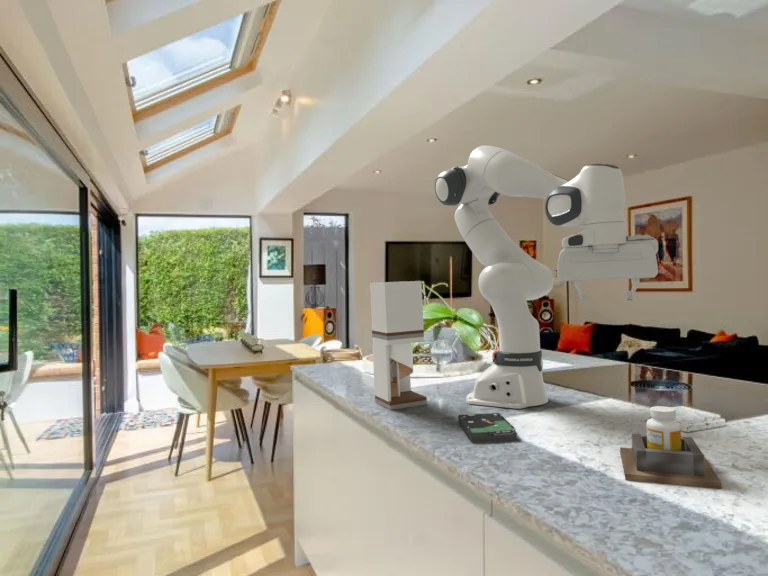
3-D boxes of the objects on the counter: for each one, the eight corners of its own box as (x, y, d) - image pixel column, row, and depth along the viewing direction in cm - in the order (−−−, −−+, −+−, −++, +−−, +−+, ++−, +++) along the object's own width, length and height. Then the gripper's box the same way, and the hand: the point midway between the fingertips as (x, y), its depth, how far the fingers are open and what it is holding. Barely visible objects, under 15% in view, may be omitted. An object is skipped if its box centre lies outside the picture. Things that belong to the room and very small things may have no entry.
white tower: (390, 409, 141) (384, 282, 140) (375, 402, 150) (369, 283, 150) (426, 404, 145) (421, 280, 145) (409, 396, 155) (404, 281, 154)
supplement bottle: (678, 458, 93) (676, 405, 93) (685, 469, 88) (683, 413, 88) (645, 456, 95) (643, 404, 95) (650, 467, 90) (648, 411, 90)
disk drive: (457, 426, 125) (471, 445, 110) (457, 414, 125) (470, 432, 110) (499, 423, 125) (518, 442, 111) (499, 412, 125) (518, 429, 111)
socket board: (625, 479, 87) (624, 453, 87) (620, 452, 100) (619, 429, 100) (721, 488, 82) (720, 460, 82) (702, 458, 95) (702, 434, 95)
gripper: (655, 235, 111) (658, 298, 111) (556, 241, 119) (558, 301, 119) (659, 233, 105) (662, 300, 106) (555, 239, 113) (557, 302, 113)
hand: (606, 300), depth 112 cm, fingers open, 8 cm apart
